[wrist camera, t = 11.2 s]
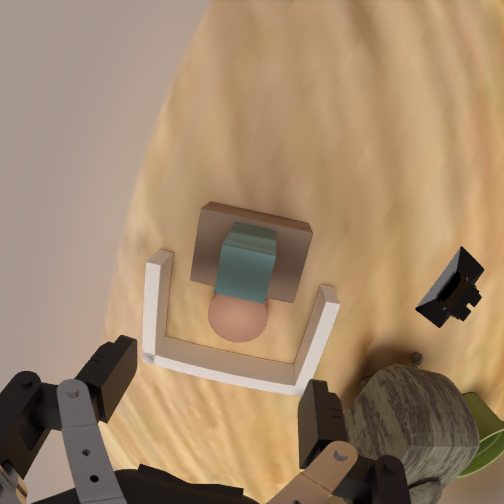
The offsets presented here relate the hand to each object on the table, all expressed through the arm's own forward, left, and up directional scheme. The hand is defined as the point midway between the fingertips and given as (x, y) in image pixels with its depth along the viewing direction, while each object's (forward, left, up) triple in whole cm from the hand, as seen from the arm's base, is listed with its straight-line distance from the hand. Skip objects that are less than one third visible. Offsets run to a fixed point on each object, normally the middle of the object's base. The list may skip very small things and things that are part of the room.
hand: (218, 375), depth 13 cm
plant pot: (+20, +39, -20) cm, 48 cm away
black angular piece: (0, +24, -21) cm, 32 cm away
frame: (+9, 0, -20) cm, 22 cm away
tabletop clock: (+15, +20, -20) cm, 32 cm away
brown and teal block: (0, 0, -20) cm, 20 cm away
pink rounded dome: (+7, 0, -20) cm, 21 cm away
